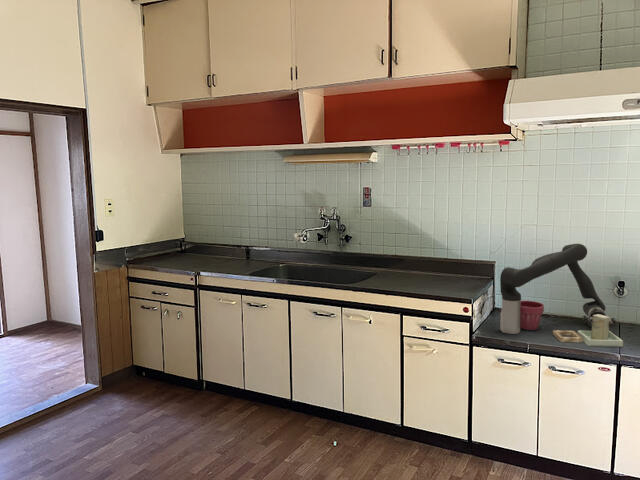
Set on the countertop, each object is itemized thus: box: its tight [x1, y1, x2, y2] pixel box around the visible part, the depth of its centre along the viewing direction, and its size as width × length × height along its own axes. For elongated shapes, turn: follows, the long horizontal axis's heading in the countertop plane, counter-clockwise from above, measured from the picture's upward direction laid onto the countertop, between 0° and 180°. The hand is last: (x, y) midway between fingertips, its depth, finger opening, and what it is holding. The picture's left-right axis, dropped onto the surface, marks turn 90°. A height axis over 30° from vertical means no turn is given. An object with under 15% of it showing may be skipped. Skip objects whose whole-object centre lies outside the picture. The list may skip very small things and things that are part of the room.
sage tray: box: [577, 330, 624, 348], centre depth 251 cm, size 15×15×3 cm
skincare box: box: [591, 314, 611, 340], centre depth 250 cm, size 6×4×12 cm
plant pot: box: [520, 300, 545, 331], centre depth 274 cm, size 14×14×13 cm
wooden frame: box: [552, 329, 583, 343], centre depth 256 cm, size 10×12×2 cm
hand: (600, 325), depth 248 cm, fingers open, 8 cm apart
